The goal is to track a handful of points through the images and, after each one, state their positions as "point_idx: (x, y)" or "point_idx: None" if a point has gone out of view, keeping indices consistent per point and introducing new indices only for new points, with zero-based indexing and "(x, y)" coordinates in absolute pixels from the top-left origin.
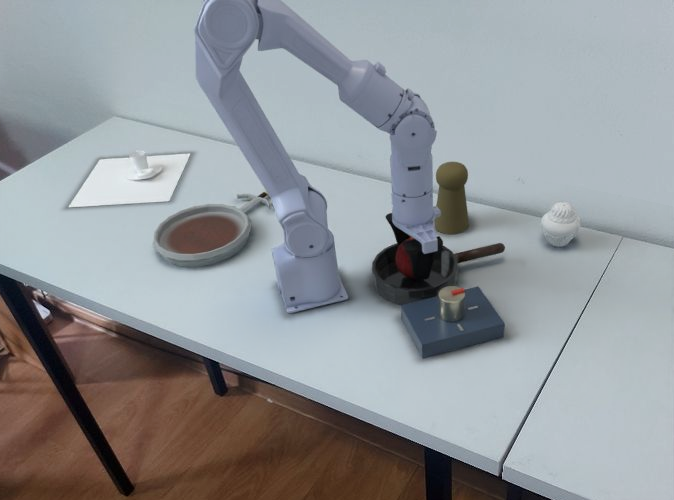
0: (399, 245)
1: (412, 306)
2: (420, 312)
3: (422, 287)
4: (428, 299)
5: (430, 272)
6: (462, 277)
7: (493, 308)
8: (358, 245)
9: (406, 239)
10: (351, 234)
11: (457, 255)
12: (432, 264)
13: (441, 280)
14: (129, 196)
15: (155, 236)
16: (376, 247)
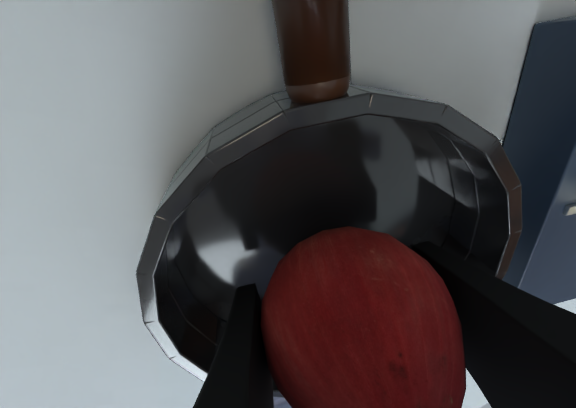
0: (271, 395)
1: (532, 290)
2: (571, 272)
3: (379, 228)
4: (537, 249)
5: (450, 253)
6: (362, 56)
7: None
8: (95, 380)
9: (264, 405)
10: (24, 401)
11: (340, 81)
12: (514, 286)
13: (367, 161)
14: None
15: None
16: (103, 342)
